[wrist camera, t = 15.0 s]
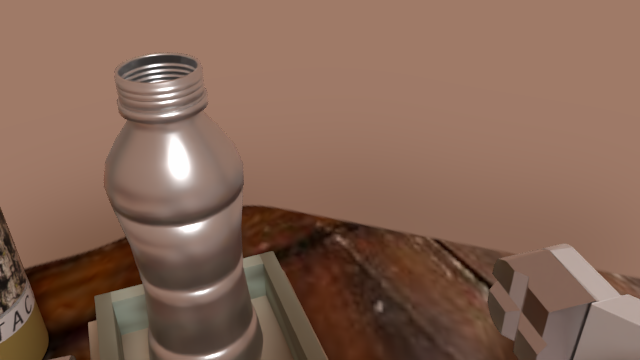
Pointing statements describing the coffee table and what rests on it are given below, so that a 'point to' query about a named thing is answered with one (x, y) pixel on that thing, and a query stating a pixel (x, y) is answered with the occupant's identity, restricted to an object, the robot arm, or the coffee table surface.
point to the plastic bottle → (181, 212)
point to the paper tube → (18, 306)
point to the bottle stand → (266, 296)
